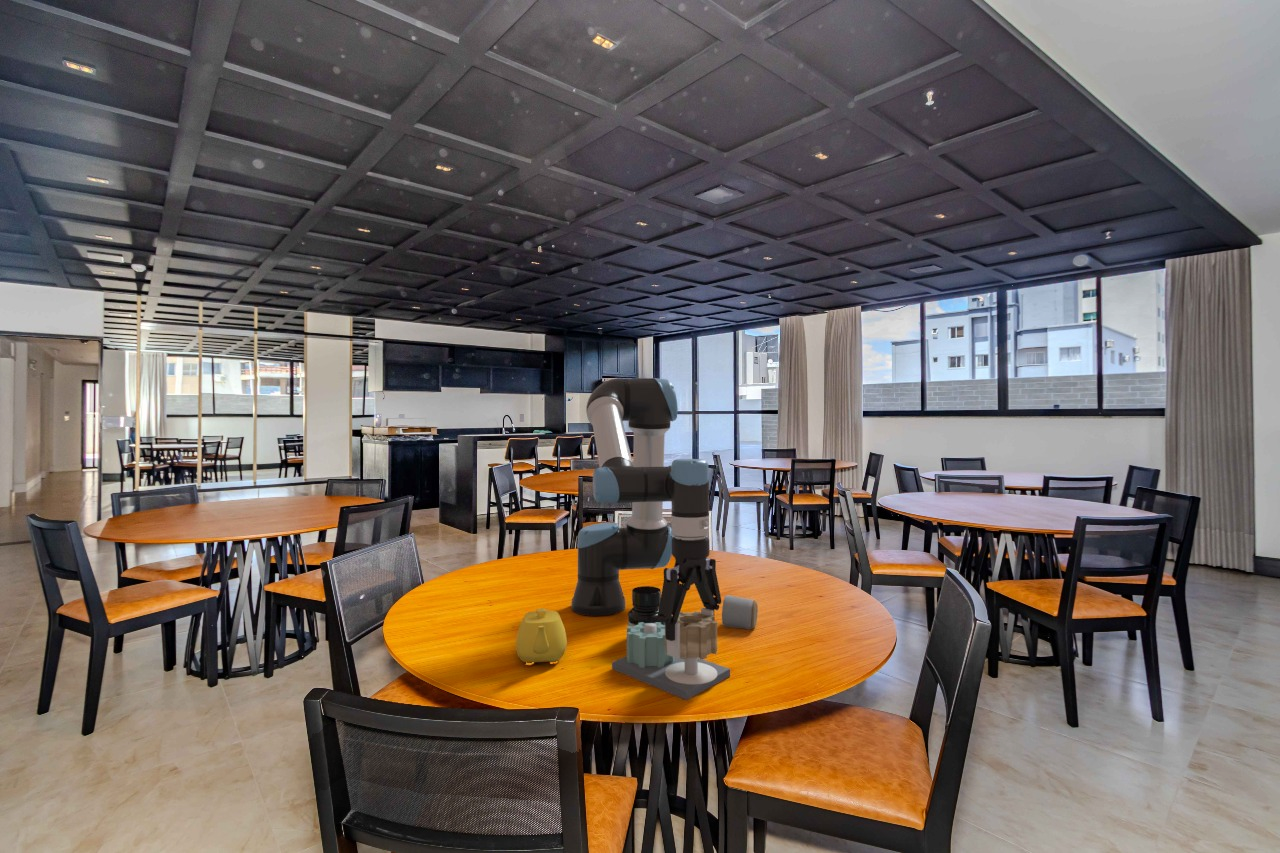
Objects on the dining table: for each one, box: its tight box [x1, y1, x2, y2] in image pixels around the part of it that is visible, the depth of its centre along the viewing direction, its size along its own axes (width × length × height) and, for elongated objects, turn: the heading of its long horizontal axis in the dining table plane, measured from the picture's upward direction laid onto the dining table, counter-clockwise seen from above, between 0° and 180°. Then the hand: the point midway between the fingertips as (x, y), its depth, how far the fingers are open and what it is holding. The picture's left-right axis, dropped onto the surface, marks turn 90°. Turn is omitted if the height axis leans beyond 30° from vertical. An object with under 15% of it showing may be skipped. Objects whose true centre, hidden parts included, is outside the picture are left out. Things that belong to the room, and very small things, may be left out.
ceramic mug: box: [721, 594, 759, 630], centre depth 147 cm, size 11×8×8 cm
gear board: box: [611, 622, 731, 701], centre depth 118 cm, size 21×14×8 cm, turn 46°
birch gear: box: [665, 611, 718, 660], centre depth 115 cm, size 10×10×6 cm
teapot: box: [515, 607, 568, 663], centre depth 126 cm, size 18×11×11 cm, turn 9°
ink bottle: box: [627, 585, 665, 627], centre depth 137 cm, size 10×9×12 cm
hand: (691, 648), depth 115 cm, fingers closed on birch gear, 10 cm apart
